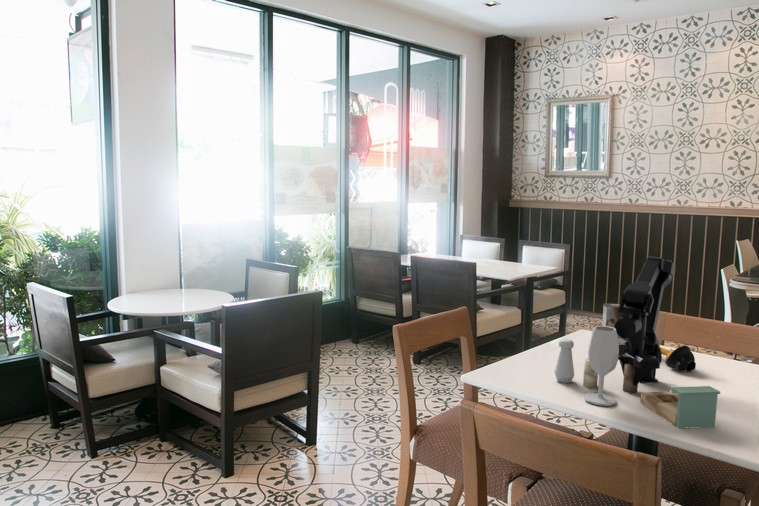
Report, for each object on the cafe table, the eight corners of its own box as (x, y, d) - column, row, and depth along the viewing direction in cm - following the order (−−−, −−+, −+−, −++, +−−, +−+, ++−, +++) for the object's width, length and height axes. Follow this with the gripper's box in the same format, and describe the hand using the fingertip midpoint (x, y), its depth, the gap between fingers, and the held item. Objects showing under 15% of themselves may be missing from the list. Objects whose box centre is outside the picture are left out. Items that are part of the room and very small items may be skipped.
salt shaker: (574, 384, 183) (577, 343, 181) (555, 383, 184) (557, 341, 182) (572, 378, 189) (575, 338, 187) (553, 376, 190) (556, 336, 188)
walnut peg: (632, 388, 181) (634, 362, 180) (640, 393, 177) (642, 366, 176) (620, 388, 180) (622, 362, 179) (627, 393, 176) (629, 367, 175)
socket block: (673, 401, 171) (674, 391, 170) (711, 424, 155) (712, 413, 155) (640, 402, 170) (641, 392, 169) (674, 426, 154) (675, 414, 153)
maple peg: (593, 383, 184) (594, 358, 183) (599, 388, 181) (601, 362, 180) (580, 383, 184) (582, 358, 183) (586, 388, 180) (588, 362, 179)
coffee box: (626, 346, 227) (629, 304, 225) (630, 351, 220) (633, 307, 218) (600, 344, 228) (603, 302, 226) (603, 349, 222) (606, 306, 220)
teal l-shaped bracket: (706, 420, 158) (709, 386, 156) (716, 427, 154) (720, 391, 152) (667, 422, 156) (670, 387, 155) (676, 428, 152) (679, 392, 151)
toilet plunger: (680, 362, 192) (641, 331, 207) (680, 387, 198) (642, 355, 213) (704, 351, 193) (664, 321, 208) (703, 375, 199) (664, 344, 214)
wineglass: (612, 409, 164) (618, 334, 161) (580, 402, 169) (585, 329, 166) (619, 399, 171) (624, 327, 169) (587, 393, 176) (592, 322, 173)
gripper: (593, 323, 184) (589, 373, 186) (625, 340, 166) (621, 395, 168) (627, 323, 186) (623, 372, 188) (663, 339, 168) (658, 394, 170)
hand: (630, 382), depth 178 cm, fingers open, 4 cm apart
